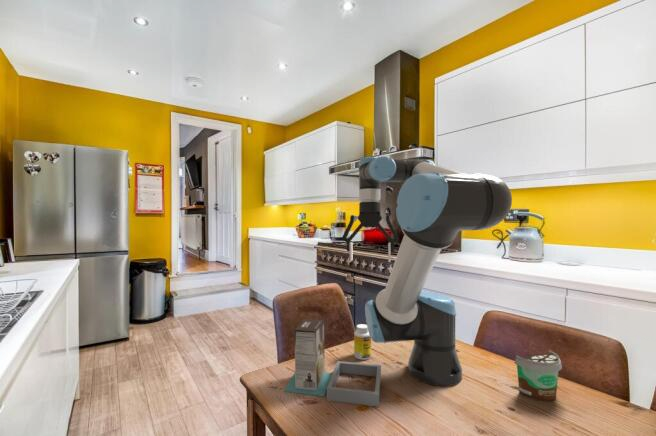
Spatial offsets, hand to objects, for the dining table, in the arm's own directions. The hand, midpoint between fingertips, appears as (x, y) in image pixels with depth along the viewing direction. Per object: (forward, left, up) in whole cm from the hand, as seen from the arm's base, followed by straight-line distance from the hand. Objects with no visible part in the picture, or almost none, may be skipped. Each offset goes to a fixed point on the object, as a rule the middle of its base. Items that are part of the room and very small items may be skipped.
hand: (370, 261), depth 108 cm
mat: (+15, +27, -31) cm, 44 cm away
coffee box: (+15, +27, -30) cm, 43 cm away
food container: (-46, +21, -31) cm, 59 cm away
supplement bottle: (+2, +8, -31) cm, 32 cm away
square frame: (+2, +26, -31) cm, 41 cm away
